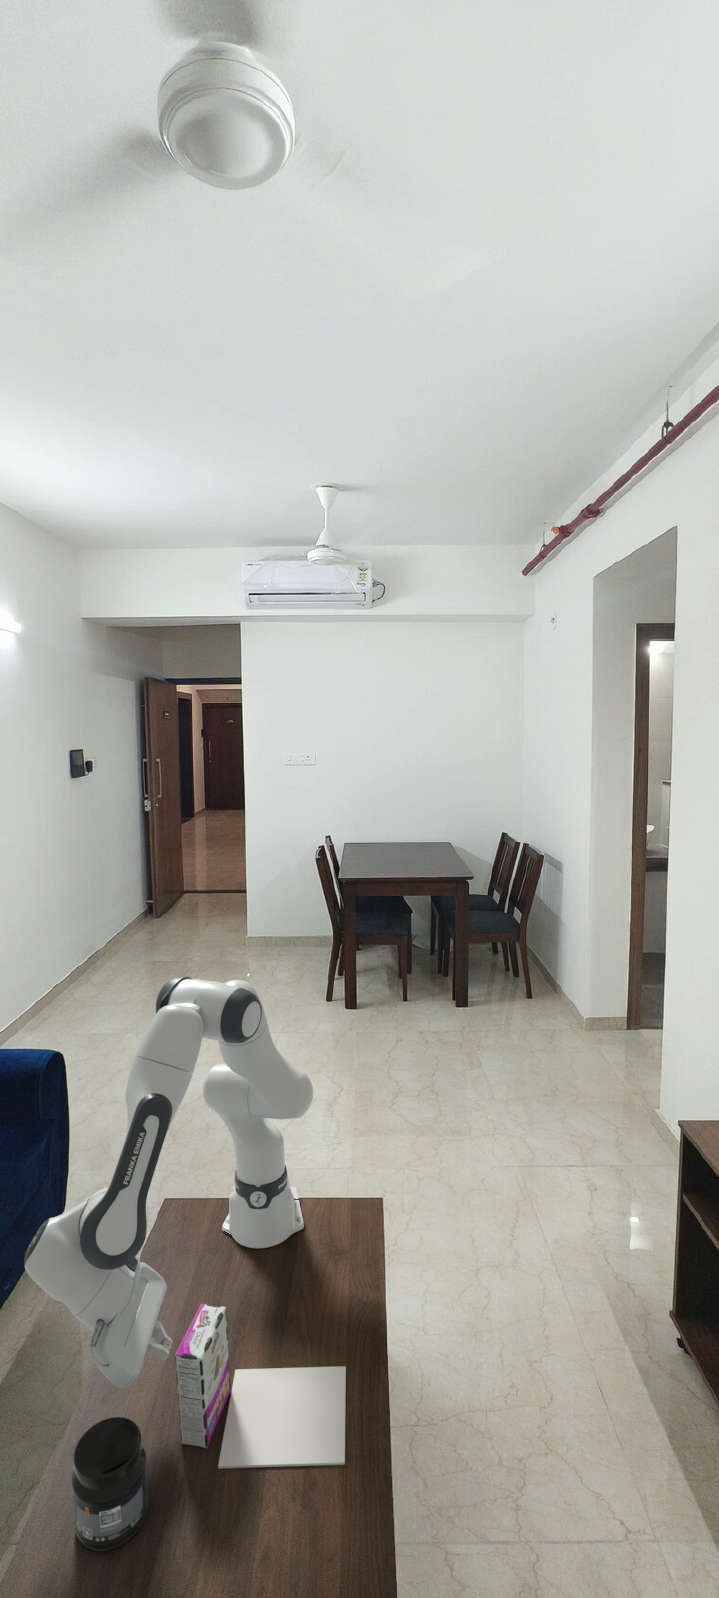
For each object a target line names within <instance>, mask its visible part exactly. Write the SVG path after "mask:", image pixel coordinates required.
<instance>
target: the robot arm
mask: <svg viewBox="0 0 719 1598" xmlns="http://www.w3.org/2000/svg"><path fill="white" fill-rule="evenodd" d="M156 997H157V998H156V1000H155V1001H156V1002H155V1015H154V1017H153V1019H152V1020H151V1022H150V1024H149V1025H148V1027H147V1029H146V1031H145V1033H144V1036H143V1038H142V1039H141V1042H140V1043H139V1046H138V1049H137V1051H136V1053H135V1056H134V1059H133V1061H132V1064H131V1068H130V1070H129V1074H128V1079H127V1083H126V1091H125V1096H124V1097H125V1103H126V1110H127V1111H126V1113H127V1128H126V1134H125V1139H124V1142H123V1145H122V1147H121V1151H120V1154H119V1157H118V1159H117V1163H116V1166H115V1168H114V1171H113V1174H112V1177H111V1180H110V1183H109V1185H108V1186H106V1187H102V1188H100V1189H98V1190H96V1191H95V1192H94V1193H92V1194H91V1195H90V1196H89V1197H87V1198H86V1199H85V1200H84V1201H82V1202H81V1203H79V1204H78V1205H76V1206H75V1207H73V1208H71V1209H69V1210H67V1211H66V1212H64V1213H62V1214H59V1215H57V1216H54V1217H49V1218H47V1219H46V1220H45V1221H43V1223H42V1224H41V1225H40V1227H39V1228H38V1229H37V1230H36V1232H35V1234H34V1236H33V1237H32V1239H31V1241H30V1242H29V1245H28V1246H27V1249H26V1251H25V1254H24V1261H23V1262H24V1269H25V1272H26V1273H27V1274H28V1275H29V1277H30V1278H31V1279H32V1280H33V1281H34V1282H35V1283H36V1285H37V1286H39V1288H40V1289H42V1290H43V1291H44V1292H45V1293H46V1294H47V1295H49V1296H50V1297H51V1298H53V1299H54V1300H56V1301H59V1302H61V1303H63V1304H64V1305H65V1306H66V1307H67V1308H68V1310H69V1311H70V1314H72V1315H73V1316H74V1317H75V1318H76V1319H77V1320H78V1321H80V1322H81V1323H82V1324H84V1325H85V1326H86V1327H87V1328H88V1329H90V1331H92V1335H91V1336H90V1339H89V1340H88V1345H87V1346H88V1348H89V1354H90V1358H91V1360H92V1361H93V1362H94V1363H95V1365H96V1367H97V1368H98V1369H99V1371H100V1372H101V1373H102V1374H103V1375H104V1376H105V1378H107V1380H109V1382H111V1384H113V1385H114V1387H116V1388H117V1389H121V1390H123V1389H126V1388H128V1387H129V1386H130V1385H131V1384H132V1383H133V1382H135V1380H136V1379H137V1378H139V1375H140V1372H141V1369H142V1366H143V1363H144V1359H145V1357H146V1356H150V1357H156V1358H157V1359H158V1360H159V1361H161V1362H165V1361H166V1360H167V1359H169V1356H170V1353H171V1350H172V1347H173V1342H174V1341H173V1339H172V1338H171V1337H170V1336H169V1335H167V1332H166V1330H165V1328H164V1326H163V1324H162V1322H161V1321H160V1320H159V1319H158V1316H159V1313H160V1310H161V1307H162V1304H163V1300H164V1297H165V1294H166V1292H167V1289H168V1286H167V1283H166V1281H165V1278H164V1277H163V1276H162V1275H160V1273H158V1272H157V1271H156V1270H155V1269H154V1268H152V1266H150V1265H148V1264H147V1263H145V1262H144V1261H141V1260H140V1257H139V1256H138V1254H139V1252H140V1251H141V1249H142V1248H143V1246H144V1243H145V1240H146V1237H147V1229H148V1227H147V1226H148V1224H147V1223H148V1221H147V1200H148V1195H149V1190H150V1187H151V1184H152V1182H153V1181H152V1180H153V1177H154V1174H155V1170H156V1169H157V1165H158V1161H159V1158H160V1156H161V1155H160V1154H161V1152H162V1148H163V1145H164V1142H165V1140H166V1136H167V1134H168V1132H169V1130H170V1128H171V1125H172V1123H173V1121H174V1119H175V1117H176V1115H177V1112H178V1111H179V1108H180V1106H181V1104H182V1102H183V1100H184V1098H185V1095H186V1092H187V1091H188V1088H189V1086H190V1083H191V1081H192V1077H193V1074H194V1071H195V1068H196V1066H197V1062H198V1058H199V1055H200V1049H201V1046H202V1041H203V1038H204V1039H207V1040H214V1041H217V1042H218V1045H219V1049H220V1053H221V1058H222V1060H223V1062H224V1063H219V1064H214V1065H213V1066H212V1067H211V1068H210V1070H209V1071H208V1072H207V1073H206V1075H205V1078H204V1079H203V1083H202V1096H203V1099H204V1101H205V1102H204V1103H206V1105H207V1106H208V1107H209V1108H211V1110H213V1111H214V1112H215V1113H216V1114H217V1115H218V1116H219V1118H220V1119H221V1120H222V1121H223V1123H224V1124H225V1126H226V1128H227V1130H228V1132H229V1133H230V1136H231V1138H232V1141H233V1145H234V1147H233V1148H234V1155H235V1167H236V1169H235V1172H234V1186H233V1189H232V1192H231V1193H230V1195H229V1198H228V1200H229V1201H228V1207H229V1208H228V1214H227V1216H226V1218H225V1220H224V1222H223V1224H222V1228H221V1230H222V1231H223V1232H224V1231H225V1232H227V1233H229V1234H228V1235H230V1234H231V1235H232V1236H231V1235H230V1236H231V1237H232V1238H233V1239H234V1241H235V1242H236V1243H238V1244H239V1245H240V1246H244V1247H246V1248H251V1249H266V1248H267V1249H268V1248H270V1247H271V1248H272V1247H274V1246H277V1245H279V1244H281V1243H283V1242H285V1241H286V1240H287V1239H288V1238H290V1237H291V1236H292V1235H293V1234H295V1233H297V1232H299V1231H301V1230H303V1229H304V1228H305V1224H304V1218H303V1213H302V1208H301V1205H300V1197H299V1193H298V1190H297V1187H296V1186H292V1185H291V1183H290V1178H289V1175H288V1169H287V1165H286V1164H285V1163H286V1162H285V1139H284V1136H283V1134H282V1132H281V1131H280V1129H279V1128H278V1127H277V1126H276V1125H275V1124H274V1123H272V1122H271V1121H269V1120H268V1119H271V1120H280V1121H281V1120H293V1119H300V1118H302V1117H303V1116H305V1115H306V1114H307V1112H308V1111H309V1109H310V1107H311V1105H312V1103H313V1099H314V1089H313V1084H312V1081H311V1079H310V1077H309V1076H308V1074H307V1073H305V1072H304V1071H301V1070H300V1069H298V1068H296V1067H294V1065H292V1064H291V1063H290V1062H289V1061H288V1060H287V1059H286V1058H285V1057H284V1056H283V1055H282V1054H281V1053H280V1051H279V1050H278V1048H277V1047H276V1045H275V1044H274V1042H273V1038H272V1035H271V1033H270V1029H269V1028H270V1027H269V1025H268V1019H267V1016H266V1013H265V1009H264V1007H263V1003H262V1000H261V999H260V997H259V994H258V993H257V991H256V989H255V987H254V986H253V985H252V984H251V983H249V981H246V980H243V979H242V980H241V979H232V980H229V981H226V982H224V983H223V982H219V981H215V980H209V979H208V980H207V979H199V978H192V977H190V976H177V977H172V978H171V979H169V980H168V981H167V982H166V983H165V984H163V986H162V987H161V988H160V990H159V992H158V994H157V996H156ZM294 1199H299V1200H294ZM225 1232H224V1233H225ZM227 1233H226V1234H227ZM140 1261H141V1262H140Z"/></svg>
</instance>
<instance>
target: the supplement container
mask: <svg viewBox="0 0 719 1598" xmlns="http://www.w3.org/2000/svg"><path fill="white" fill-rule="evenodd" d="M141 1432H142V1431H141V1429H140V1428H139V1425H138V1424H137V1423H136V1422H135V1420H131V1419H130V1418H127V1417H124V1416H113V1417H109V1418H105V1419H102V1420H100V1421H98V1422H97V1423H94V1424H93V1425H92V1426H90V1427H89V1428H88V1429H87V1430H86V1431H84V1433H83V1434H82V1435H81V1437H80V1439H79V1440H78V1441H77V1443H76V1446H75V1448H74V1452H73V1457H72V1458H73V1459H72V1460H73V1468H72V1471H71V1478H70V1479H71V1480H70V1483H71V1489H72V1497H73V1511H74V1512H73V1514H74V1529H75V1533H76V1537H77V1538H78V1539H79V1542H80V1543H81V1544H82V1545H83V1547H85V1548H88V1549H89V1550H93V1551H96V1552H97V1551H98V1552H99V1551H100V1552H102V1551H103V1552H104V1551H111V1550H113V1549H115V1548H118V1547H120V1546H122V1545H123V1544H125V1543H126V1542H128V1541H129V1540H130V1539H131V1538H132V1537H134V1535H135V1534H136V1533H137V1532H138V1530H139V1529H140V1528H141V1526H142V1525H143V1523H144V1520H145V1519H146V1517H147V1516H146V1515H147V1512H148V1509H149V1492H148V1482H147V1481H148V1479H147V1451H146V1449H145V1446H144V1444H143V1442H142V1441H143V1440H142V1439H143V1438H142V1433H141Z"/></svg>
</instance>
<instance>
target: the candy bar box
mask: <svg viewBox="0 0 719 1598" xmlns="http://www.w3.org/2000/svg"><path fill="white" fill-rule="evenodd" d="M227 1321H228V1319H227V1307H226V1306H222V1305H214V1304H213V1305H212V1304H210V1305H209V1304H207V1303H200V1305H199V1307H198V1309H197V1311H196V1313H195V1315H194V1317H193V1319H192V1321H191V1323H190V1325H189V1327H188V1329H187V1331H186V1332H185V1335H184V1336H183V1339H182V1341H181V1343H180V1344H179V1346H178V1347H177V1350H176V1352H175V1354H174V1359H175V1375H176V1387H177V1388H176V1389H177V1399H178V1401H177V1402H178V1413H179V1414H178V1415H179V1429H180V1442H181V1445H184V1446H185V1445H186V1446H192V1447H198V1448H201V1449H208V1448H209V1446H210V1443H211V1441H212V1439H213V1436H214V1434H215V1431H216V1428H217V1426H218V1423H219V1421H220V1419H221V1416H222V1413H223V1411H224V1409H225V1407H226V1403H227V1402H228V1399H229V1397H230V1396H231V1391H232V1385H231V1370H230V1368H231V1367H230V1354H229V1352H230V1351H229V1337H228V1336H229V1335H228V1323H227Z"/></svg>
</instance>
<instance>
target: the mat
mask: <svg viewBox="0 0 719 1598" xmlns="http://www.w3.org/2000/svg"><path fill="white" fill-rule="evenodd" d="M346 1374H347V1367H346V1366H345V1365H344V1366H311V1367H307V1366H306V1367H281V1368H280V1367H277V1368H275V1367H274V1368H273V1367H272V1368H243V1369H242V1368H241V1369H239V1368H237V1369H235V1370H234V1375H233V1380H232V1381H233V1382H232V1385H231V1392H230V1396H229V1397H230V1398H229V1403H228V1408H227V1409H228V1410H227V1414H226V1421H225V1425H224V1432H223V1437H222V1442H221V1448H220V1449H221V1450H220V1454H219V1460H218V1465H217V1468H218V1469H247V1468H250V1469H251V1468H274V1467H275V1468H277V1467H278V1468H280V1467H281V1468H282V1467H310V1466H313V1467H315V1466H344V1465H346V1395H347V1394H346V1393H347V1392H346V1388H347V1387H346V1386H347V1384H346V1383H347V1382H346V1381H347V1380H346V1379H347V1375H346Z"/></svg>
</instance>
